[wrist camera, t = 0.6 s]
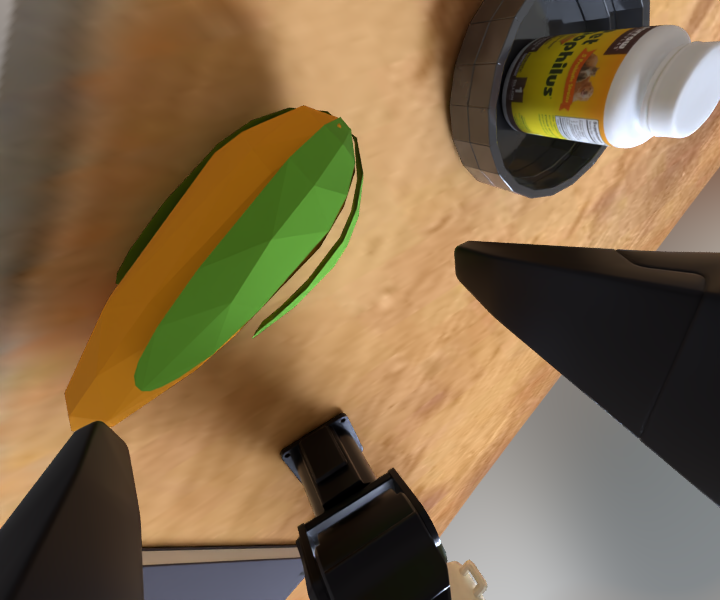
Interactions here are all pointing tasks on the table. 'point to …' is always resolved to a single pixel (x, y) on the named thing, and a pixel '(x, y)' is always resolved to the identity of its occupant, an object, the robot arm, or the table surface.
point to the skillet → (486, 80)
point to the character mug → (464, 579)
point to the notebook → (221, 572)
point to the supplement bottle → (613, 85)
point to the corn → (218, 258)
